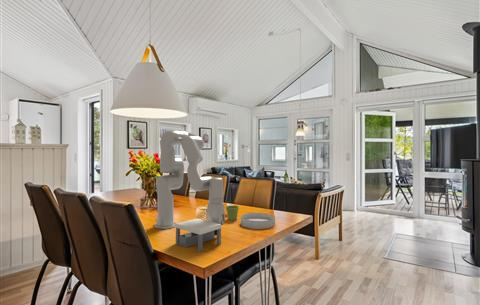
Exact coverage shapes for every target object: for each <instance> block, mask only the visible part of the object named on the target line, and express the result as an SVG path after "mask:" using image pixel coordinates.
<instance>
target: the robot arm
mask: <svg viewBox="0 0 480 305" xmlns="http://www.w3.org/2000/svg"><path fill="white" fill-rule="evenodd" d="M159 140H160V142H159V144H160V157H159V158H160V160H159V170H160V172H161V173H163V174H164V175H161V176H158V177H157V179H156V181H155V187H156V188H155V189H156V192H157V218H155V222H156V223H155V224H154V228H155V229H157V230H159V229H160V230H167V229H173V228H176V224H177V222H176V223H175V222H174V211H175V210H174V203H175V202H174V195H173V193H172V190H173V191H174V190H179V189H181V187H182V186H183V183H184V174H185V173H184V172H185V163H184V161H183V159H181V158H180V157H176V156H175V155H176V150H175V147H174V145H176V146H177V145H178V146H181V147H182V151H183V152H184V155H185V158H186V160H187V162H188V165H187V170H186V174H187V175H186V176H187V180H188V182H189V185H190V187H191V188H192V189H193V190H194V191H195V192H202V191H203V192H204V191H208V192H209V194H208V203H207V206H206V208H207V209H206V221H210V222H214V223H218V224H221V226H224V225H225V221H226V208H225V204H224V179H223V178H222V177H213V176H209V175H207V176H200V175H199V173H198V165H199V164H200V163H202V161H203V159H204V158H203V155H202V153H201V150H202V149H203V148H204V146H205V144H204V140H203V139H202V138H201V136H198V135H195V134H194V133H191V132H189V131H183V130H182V131H181V130H174V129H173V130H171V129H170V130H166V131H164V132H163V133H162V134H161V137H160V139H159ZM214 231H215V236H216V237H217V230H214Z"/></svg>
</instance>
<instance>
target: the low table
mask: <svg viewBox="0 0 480 305" xmlns="http://www.w3.org/2000/svg"><path fill="white" fill-rule="evenodd" d="M181 230H183V231H187V232H188V233H191V232H192V233H196V234H198V244H197V252H199V253H201V252H203V249H204V248H203V243H204V242H203V234H204V233H207V232H211V231H214V230H217V235H216V245H218V246H220V245H222V225H221V224H218V223H214V222H210V221H207V219H206V220H205V219H201V218H193V219H188V220H185V221H181V222H178V223H177V222H176V226H175V244H176V245H180V244H179V235H181Z"/></svg>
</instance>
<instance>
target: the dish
mask: <svg viewBox="0 0 480 305" xmlns="http://www.w3.org/2000/svg"><path fill="white" fill-rule="evenodd" d="M275 219H276V218H275V216H274V215H273V214H270V213H264V212H248V213H244V214H242V215H241V216H240V226H242V227H245V228H248V229H255V230H261V229H270V228H273V227H275V226H276V222H275V221H276V220H275Z"/></svg>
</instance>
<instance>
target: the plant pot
mask: <svg viewBox="0 0 480 305" xmlns="http://www.w3.org/2000/svg"><path fill="white" fill-rule="evenodd" d="M239 209H240V206H239V205H226V206H225V211H226V213H227V220H229V221H236V220H237V219H238V214H239V212H238V211H239Z"/></svg>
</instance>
